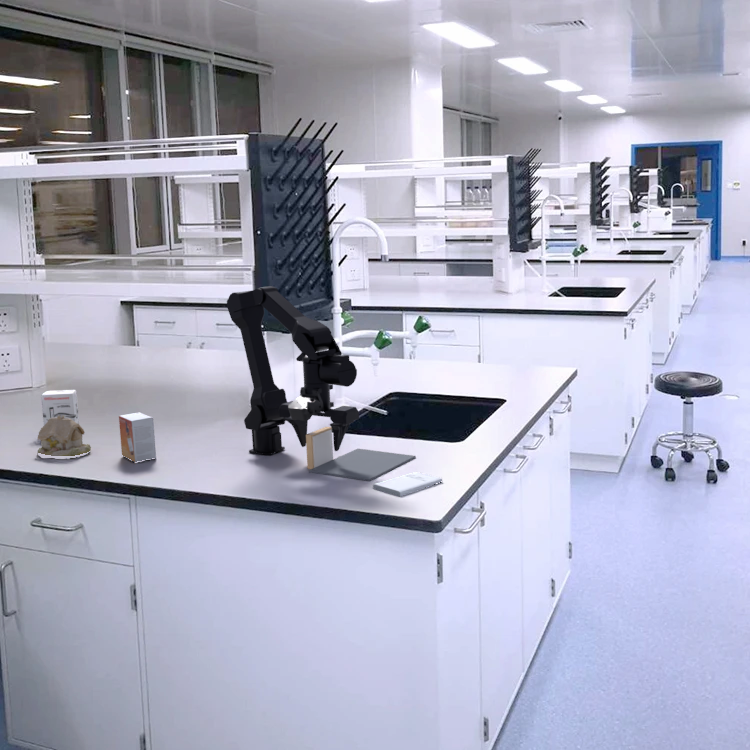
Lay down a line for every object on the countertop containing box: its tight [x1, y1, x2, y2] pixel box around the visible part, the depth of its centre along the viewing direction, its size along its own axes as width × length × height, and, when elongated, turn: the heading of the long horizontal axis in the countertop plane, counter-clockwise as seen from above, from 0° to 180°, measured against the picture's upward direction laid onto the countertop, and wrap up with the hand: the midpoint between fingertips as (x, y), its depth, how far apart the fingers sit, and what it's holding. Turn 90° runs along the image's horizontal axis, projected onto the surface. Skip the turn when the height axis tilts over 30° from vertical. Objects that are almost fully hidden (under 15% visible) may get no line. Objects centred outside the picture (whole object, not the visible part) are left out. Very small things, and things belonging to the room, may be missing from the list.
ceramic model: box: [37, 415, 92, 456], centre depth 223 cm, size 14×11×10 cm
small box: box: [118, 411, 157, 462], centre depth 216 cm, size 8×6×10 cm
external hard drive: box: [372, 471, 443, 497], centre depth 187 cm, size 2×8×12 cm
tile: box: [305, 426, 334, 470], centre depth 204 cm, size 2×8×8 cm, turn 148°
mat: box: [308, 448, 417, 482], centre depth 204 cm, size 16×20×1 cm
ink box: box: [40, 389, 80, 426], centre depth 244 cm, size 9×5×12 cm, turn 95°
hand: (320, 448), depth 205 cm, fingers open, 9 cm apart
